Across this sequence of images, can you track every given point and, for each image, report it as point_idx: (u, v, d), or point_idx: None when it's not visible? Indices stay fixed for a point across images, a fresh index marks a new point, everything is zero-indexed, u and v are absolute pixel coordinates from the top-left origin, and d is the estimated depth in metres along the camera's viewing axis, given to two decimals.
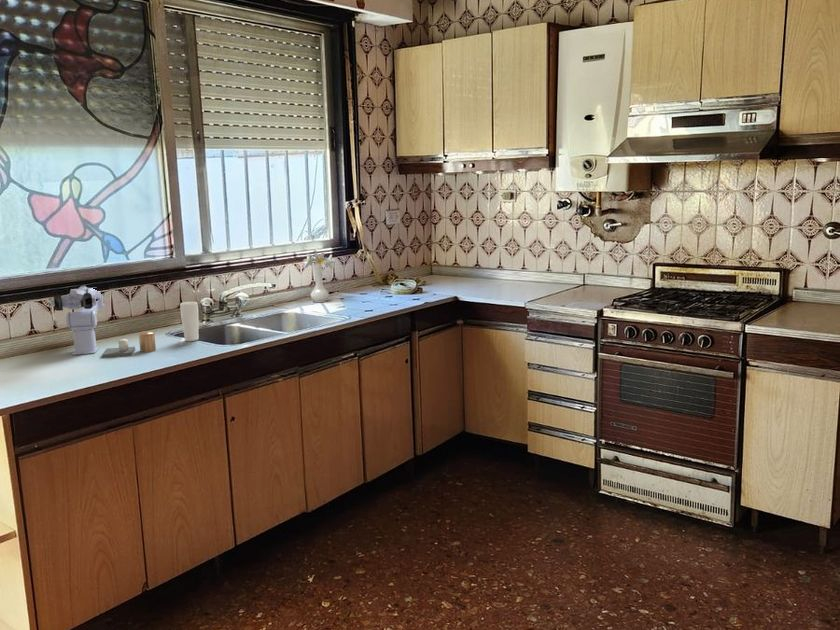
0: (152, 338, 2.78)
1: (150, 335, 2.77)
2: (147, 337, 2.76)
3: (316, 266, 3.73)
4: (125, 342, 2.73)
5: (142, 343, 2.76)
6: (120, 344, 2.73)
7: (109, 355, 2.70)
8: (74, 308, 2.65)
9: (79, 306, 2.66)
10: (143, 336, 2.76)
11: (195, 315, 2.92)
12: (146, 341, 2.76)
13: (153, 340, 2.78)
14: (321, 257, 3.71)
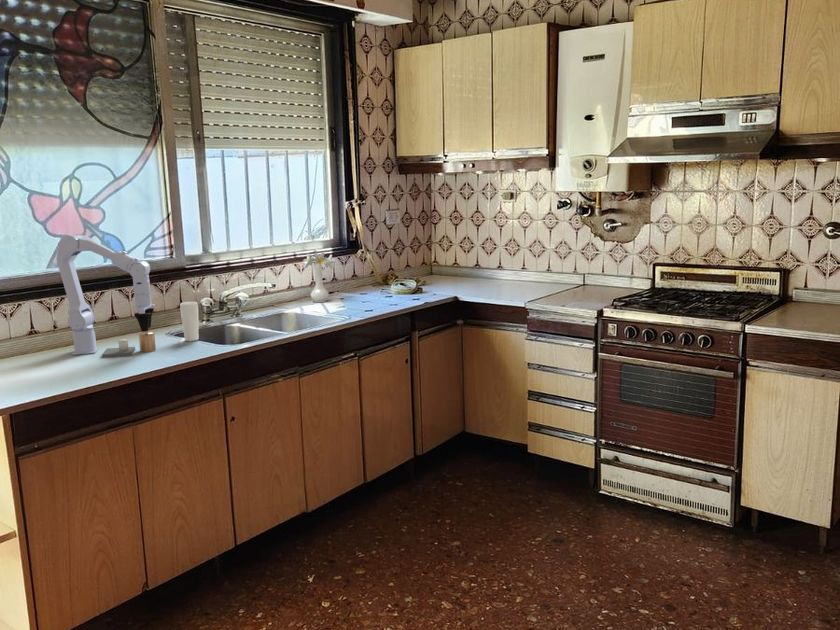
0: (152, 338, 2.78)
1: (150, 335, 2.77)
2: (147, 337, 2.76)
3: (316, 266, 3.73)
4: (125, 342, 2.73)
5: (142, 343, 2.76)
6: (120, 344, 2.73)
7: (109, 355, 2.70)
8: None
9: None
10: (143, 336, 2.76)
11: (195, 315, 2.92)
12: (146, 341, 2.76)
13: (153, 340, 2.78)
14: (321, 257, 3.71)
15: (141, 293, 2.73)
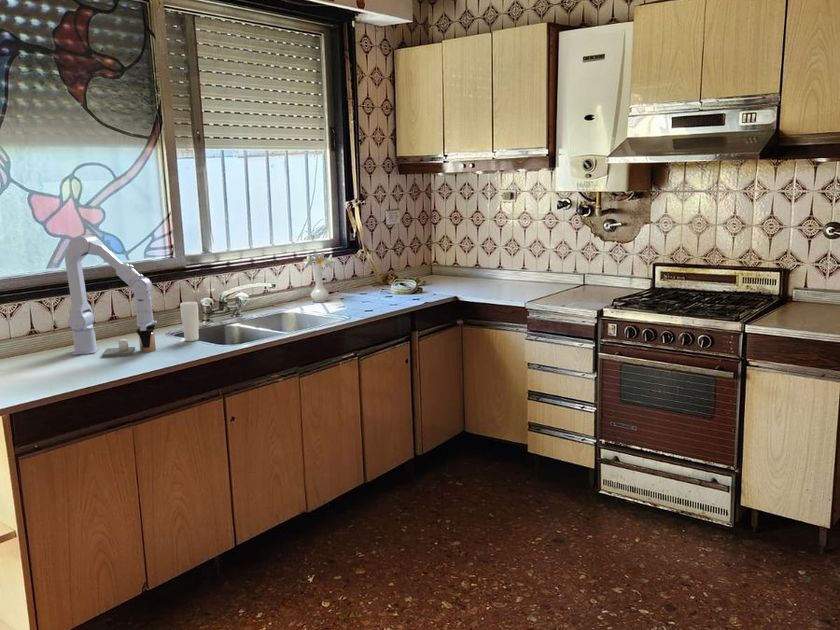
0: (152, 338, 2.78)
1: None
2: None
3: (316, 266, 3.73)
4: (125, 342, 2.73)
5: None
6: (120, 344, 2.73)
7: (109, 355, 2.70)
8: None
9: None
10: None
11: (195, 315, 2.92)
12: None
13: (153, 340, 2.78)
14: (321, 257, 3.71)
15: (143, 310, 2.74)
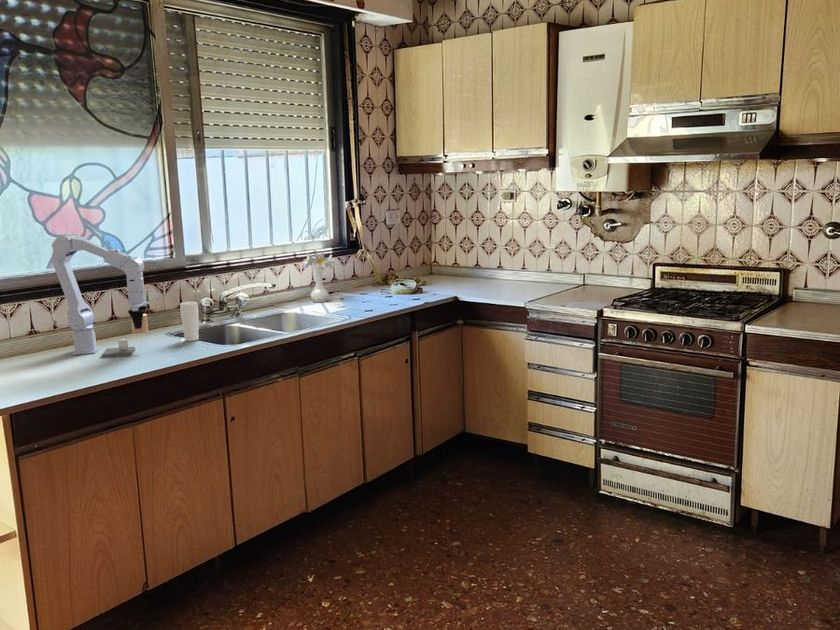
0: (144, 320, 2.75)
1: (143, 316, 2.74)
2: None
3: (316, 266, 3.73)
4: (125, 342, 2.73)
5: None
6: (120, 344, 2.73)
7: (109, 355, 2.70)
8: None
9: None
10: None
11: (195, 315, 2.92)
12: None
13: (145, 322, 2.76)
14: (321, 257, 3.71)
15: (134, 290, 2.71)
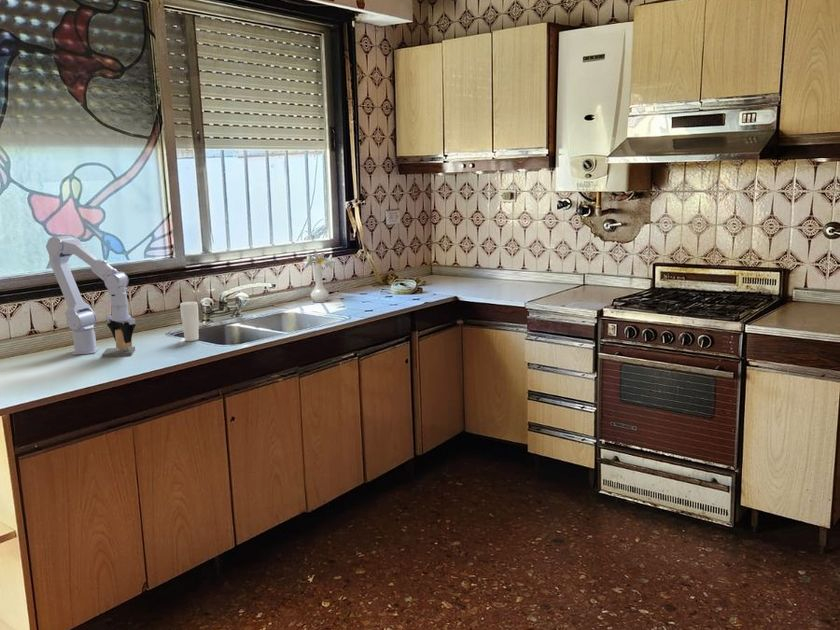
0: None
1: None
2: None
3: (316, 266, 3.73)
4: None
5: (123, 339, 2.72)
6: None
7: (109, 355, 2.70)
8: (114, 320, 2.70)
9: None
10: None
11: (195, 315, 2.92)
12: None
13: None
14: (321, 257, 3.71)
15: (115, 305, 2.69)
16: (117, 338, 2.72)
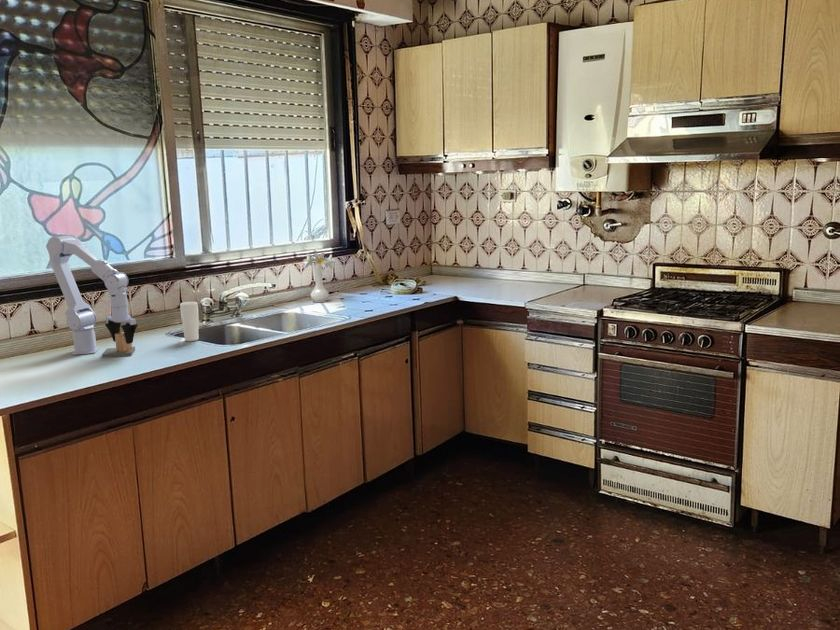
0: None
1: None
2: None
3: (316, 266, 3.73)
4: None
5: (124, 343, 2.72)
6: None
7: (109, 355, 2.70)
8: (114, 321, 2.70)
9: None
10: None
11: (195, 315, 2.92)
12: None
13: None
14: (321, 257, 3.71)
15: (115, 306, 2.69)
16: (117, 342, 2.72)
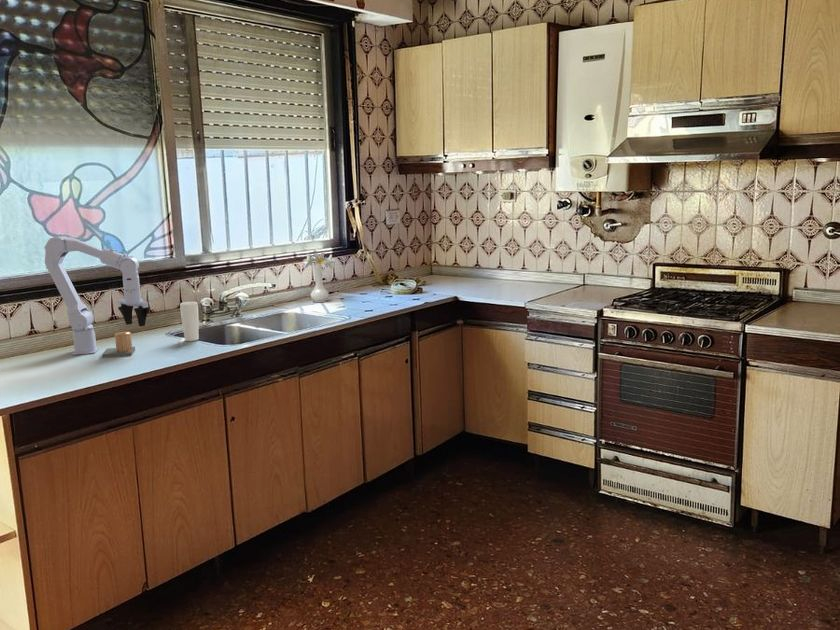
0: (130, 337, 2.75)
1: (130, 334, 2.74)
2: (128, 337, 2.73)
3: (316, 266, 3.73)
4: None
5: (124, 343, 2.72)
6: None
7: (109, 355, 2.70)
8: None
9: None
10: (125, 335, 2.72)
11: (195, 315, 2.92)
12: (128, 340, 2.73)
13: None
14: (321, 257, 3.71)
15: (131, 289, 2.74)
16: (117, 342, 2.72)
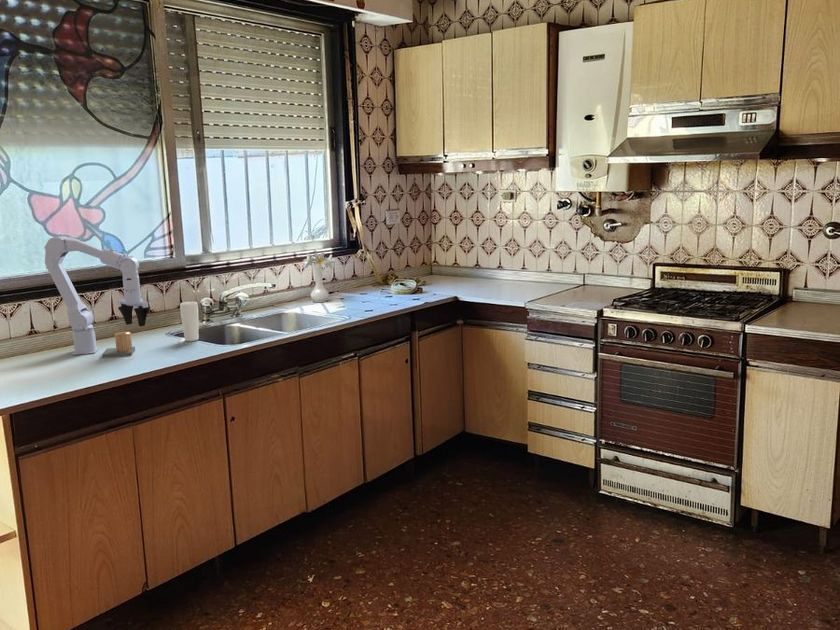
0: (130, 337, 2.75)
1: (130, 334, 2.74)
2: (128, 337, 2.73)
3: (316, 266, 3.73)
4: None
5: (124, 343, 2.72)
6: None
7: (109, 355, 2.70)
8: None
9: None
10: (125, 335, 2.72)
11: (195, 315, 2.92)
12: (128, 340, 2.73)
13: None
14: (321, 257, 3.71)
15: (131, 289, 2.74)
16: (117, 342, 2.72)
